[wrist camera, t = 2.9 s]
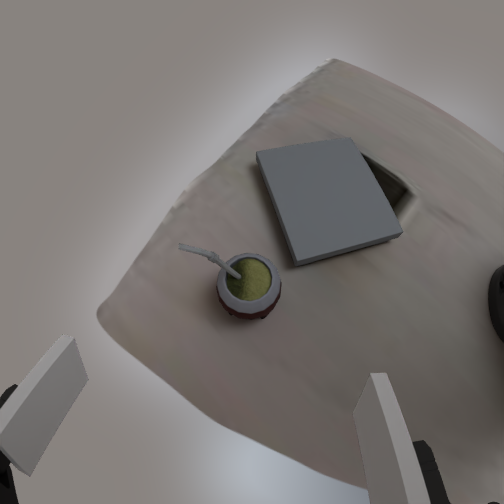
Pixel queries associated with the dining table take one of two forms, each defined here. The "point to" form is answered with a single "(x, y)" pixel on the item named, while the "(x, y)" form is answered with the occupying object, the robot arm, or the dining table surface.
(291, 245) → the riser
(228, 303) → the mate gourd
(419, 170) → the dining table surface
